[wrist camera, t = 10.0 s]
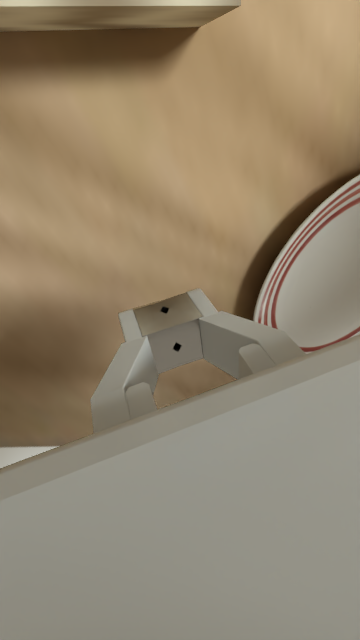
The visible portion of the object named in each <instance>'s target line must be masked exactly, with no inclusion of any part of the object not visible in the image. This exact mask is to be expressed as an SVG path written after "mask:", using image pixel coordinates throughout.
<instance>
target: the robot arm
mask: <svg viewBox="0 0 360 640" xmlns="http://www.w3.org/2000/svg"><path fill="white" fill-rule="evenodd" d="M118 316H119V320H120V324H121V328H122V331H123V335H124V339H125V343H122V344H121V345H120V347H119V349H118V351H117V353H116V354H115V356H114V358H113V360H112V362H111V363H110V365H109V367H108V369H107V371H106V372H105V374H104V376H103V378H102V380H101V381H100V383H99V385H98V387H97V389H96V390H95V392H94V394H93V396H92V398H91V410H92V421H93V432H94V434H91V435H89V436H86V437H83V438H81V439H78V440H75V441H73V442H70V443H67V444H65V445H62V446H59V447H57V448H54V449H51V450H49V451H46V452H43V453H41V454H38V455H36V456H33V457H30V458H27V459H25V460H22V461H19V462H16V463H14V464H11V465H8V466H6V467H3V468H0V640H360V334H359V335H356V336H354V337H351V338H348V339H346V340H343V341H340V342H338V343H335V344H332V345H330V346H327V347H324V348H322V349H319V350H316V351H314V352H311V353H308V354H306V353H305V352H304V351H303V350H302V349H301V348H300V347H299V346H298V345H297V344H296V343H295V342H294V341H293V340H292V339H291V338H290V337H289V336H288V335H287V334H286V333H285V332H284V331H281V330H278V329H275V328H272V327H269V326H266V325H263V324H260V323H257V322H254V321H251V320H248V319H245V318H242V317H239V316H236V315H233V314H230V313H227V312H224V311H220V312H218V311H217V310H216V308H215V307H214V306H213V305H212V303H211V302H210V301H209V299H208V298H207V297H206V295H205V294H204V293H203V291H202V290H201V289H200V288H197V289H194V290H191V291H188V292H186V293H183V294H180V295H177V296H174V297H171V298H168V299H165V300H161V301H157V302H153V303H150V304H147V305H143V306H140V307H136V308H133V310H132V309H129V310H126V311H123V312H119V313H118ZM202 358H204V359H205V360H206V361H208V362H210V363H211V364H213V365H215V366H216V367H218V368H220V369H221V370H223V371H225V372H226V373H228V374H230V375H231V376H233V377H235V378H236V379H238V380H236V381H233V382H231V383H228V384H225V385H222V386H220V387H217V388H214V389H212V390H209V391H206V392H204V393H201V394H198V395H196V396H193V397H190V398H188V399H185V400H182V401H180V402H177V403H174V404H172V405H169V406H166V407H164V408H161V409H158V410H157V407H156V404H155V401H154V398H153V394H154V390H155V387H156V383H157V379H158V376H159V375H158V374H160V373H162V372H165V371H167V370H170V369H173V368H175V367H178V366H181V365H184V364H187V363H190V362H193V361H196V360H199V359H202Z"/></svg>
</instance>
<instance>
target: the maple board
mask: <svg viewBox="0 0 360 640" xmlns="http://www.w3.org/2000/svg"><path fill="white" fill-rule="evenodd" d="M239 6H241V0H0V32H5V31H48V30H91V29H134V28H178V27H201V26H203V25H205V24H207V23H209V22H211V21H212V20H214V19H216V18H218V17H220V16H222V15H224V14H226V13H228V12H229V11H231V10H233V9H235V8H237V7H239Z"/></svg>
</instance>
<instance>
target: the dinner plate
mask: <svg viewBox="0 0 360 640" xmlns="http://www.w3.org/2000/svg"><path fill="white" fill-rule="evenodd" d="M253 321H254V322H257V323H260V324H263V325H266V326H269V327H272V328H275V329H278V330H281V331H284V332H285V333H286V334H287V335H288V336H289V337H290V338H291V339H292V340H293V341H294V342H295V343H296V344H297V345H298V346H299V347H300V348H301V349H302V350H303V351H304V352H305V353H306V354H308V353H311V352H314V351H316V350H319V349H322V348H324V347H327V346H330V345H332V344H335V343H338V342H340V341H343V340H346V339H348V338H351V337H354V336H356V335H359V334H360V175H358V176H357V177H355V178H353V179H352V180H350V181H349V182H347V183H346V184H345V185H343V186H342V187H341V188H339V189H338V190H337V191H336V192H334V193H333V194H332V195H331V196H329V197H328V198H327V199H326V200H325V201H324V202H322V203H321V204H320V205H319V206H318V207H317V208H316V209H315V210H314V211H313V212H312V213H311V214H310V215H309V216H308V217H307V218H306V219H305V221H304V222H303V223H302V224H301V225H300V226H299V227H298V228H297V230H296V231H295V232H294V233H293V235H292V236H291V237H290V239H289V240H288V241H287V243H286V244H285V246H284V247H283V249H282V250H281V252H280V254H279V255H278V256H277V258H276V260H275V261H274V263H273V265H272V267H271V269H270V271H269V273H268V275H267V277H266V279H265V281H264V283H263V285H262V288H261V290H260V293H259V296H258V299H257V302H256V306H255V310H254V316H253Z"/></svg>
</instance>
